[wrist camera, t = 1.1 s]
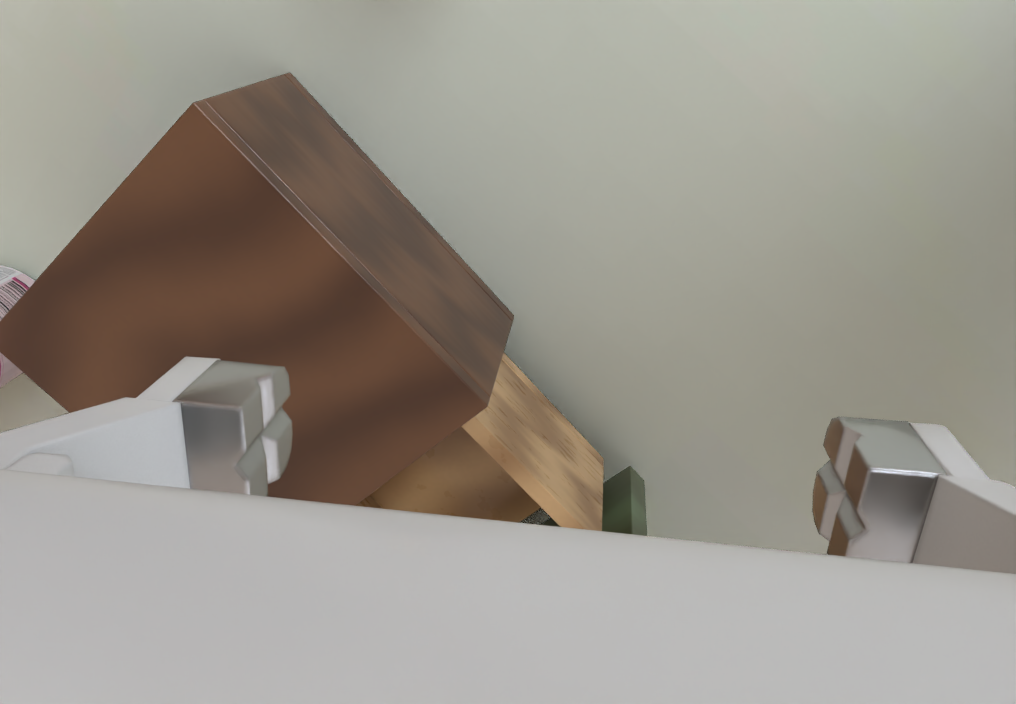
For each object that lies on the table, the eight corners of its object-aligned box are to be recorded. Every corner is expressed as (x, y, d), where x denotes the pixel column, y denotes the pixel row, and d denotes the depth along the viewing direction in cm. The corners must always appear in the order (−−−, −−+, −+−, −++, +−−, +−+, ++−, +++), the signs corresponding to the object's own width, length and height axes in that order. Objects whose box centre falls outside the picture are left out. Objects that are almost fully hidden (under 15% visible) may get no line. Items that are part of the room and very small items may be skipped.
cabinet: (515, 315, 41) (488, 406, 33) (324, 465, 47) (258, 578, 38) (290, 71, 38) (193, 101, 29) (110, 264, 43) (-17, 338, 34)
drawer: (694, 533, 45) (708, 638, 38) (511, 642, 49) (494, 753, 42) (459, 281, 40) (425, 347, 33) (283, 428, 45) (221, 513, 38)
